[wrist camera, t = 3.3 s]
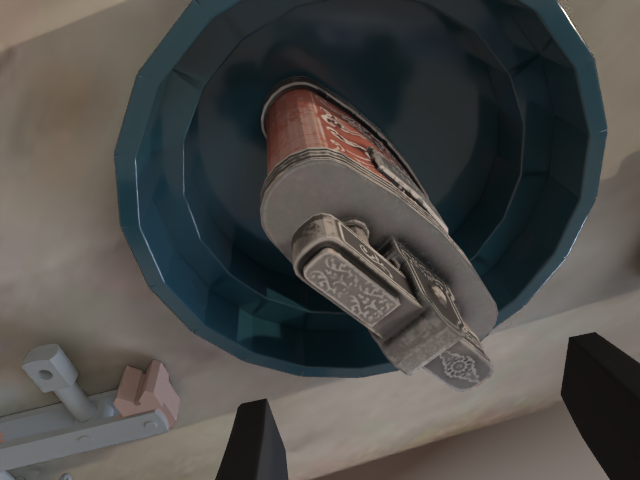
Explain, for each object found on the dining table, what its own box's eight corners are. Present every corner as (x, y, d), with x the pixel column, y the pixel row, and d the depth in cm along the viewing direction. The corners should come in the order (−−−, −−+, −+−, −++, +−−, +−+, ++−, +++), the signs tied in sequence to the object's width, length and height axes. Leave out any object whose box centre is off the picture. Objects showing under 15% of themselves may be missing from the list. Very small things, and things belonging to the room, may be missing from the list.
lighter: (442, 193, 20) (572, 380, 12) (382, 244, 21) (461, 449, 13) (304, 52, 17) (347, 175, 8) (239, 122, 18) (219, 294, 9)
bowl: (553, -116, 15) (652, -133, 11) (523, 270, 23) (574, 336, 19) (74, -18, 15) (11, -2, 11) (214, 332, 23) (205, 409, 20)
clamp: (122, 349, 20) (206, 477, 26) (134, 314, 22) (210, 440, 28) (-207, 429, 21) (-58, 538, 26) (-169, 389, 23) (-37, 498, 28)
